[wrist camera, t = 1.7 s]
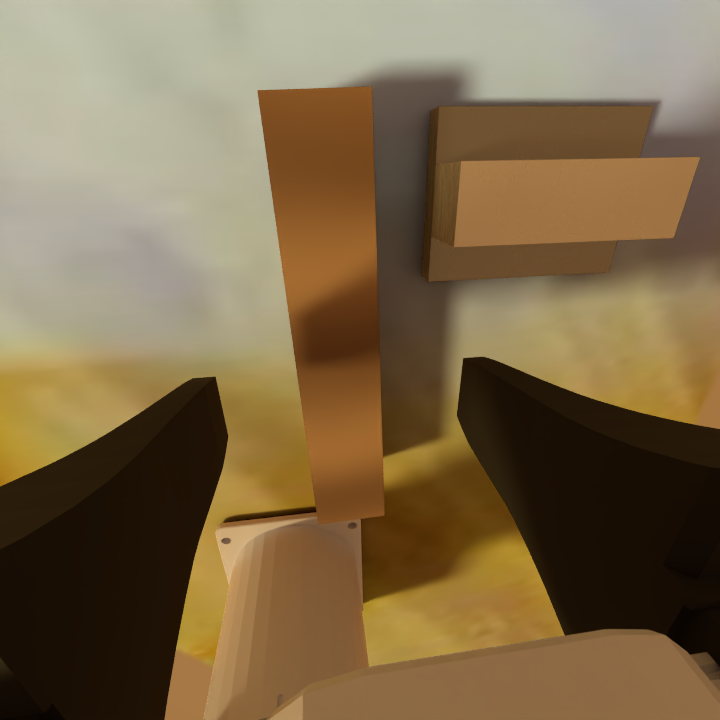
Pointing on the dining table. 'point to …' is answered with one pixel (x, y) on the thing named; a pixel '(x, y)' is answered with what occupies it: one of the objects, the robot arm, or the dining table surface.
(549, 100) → the dining table surface
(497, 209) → the ridge
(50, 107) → the dining table surface
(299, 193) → the walnut bar
